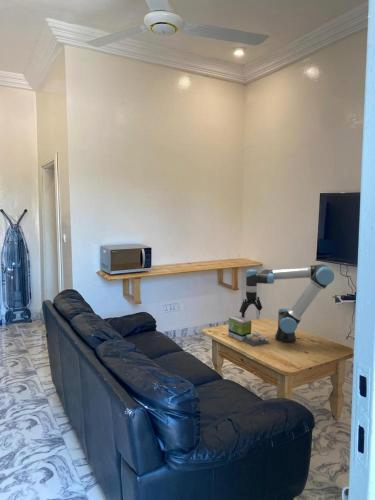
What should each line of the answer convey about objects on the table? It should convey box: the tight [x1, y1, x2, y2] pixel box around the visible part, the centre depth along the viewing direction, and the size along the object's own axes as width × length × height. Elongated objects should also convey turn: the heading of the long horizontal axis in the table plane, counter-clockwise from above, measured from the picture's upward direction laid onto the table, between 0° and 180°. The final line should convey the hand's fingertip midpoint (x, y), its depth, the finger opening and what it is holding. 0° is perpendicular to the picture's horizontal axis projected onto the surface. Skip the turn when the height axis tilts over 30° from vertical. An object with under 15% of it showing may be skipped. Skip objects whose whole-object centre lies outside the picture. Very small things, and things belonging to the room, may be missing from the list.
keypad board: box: [242, 338, 269, 347], centre depth 281 cm, size 13×12×2 cm
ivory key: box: [257, 334, 267, 342], centre depth 280 cm, size 4×4×4 cm
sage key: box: [246, 333, 255, 341], centre depth 281 cm, size 4×4×4 cm
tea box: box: [227, 315, 252, 342], centre depth 290 cm, size 15×10×15 cm, turn 37°
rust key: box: [251, 336, 260, 343], centre depth 277 cm, size 4×4×4 cm
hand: (250, 320), depth 278 cm, fingers open, 13 cm apart
